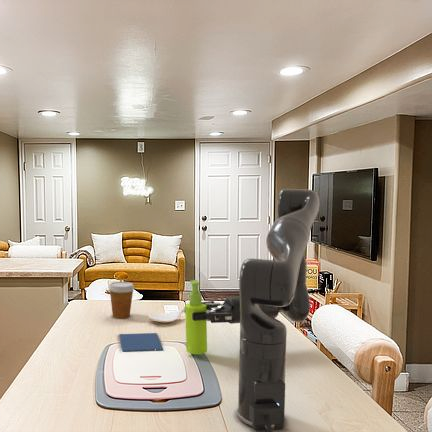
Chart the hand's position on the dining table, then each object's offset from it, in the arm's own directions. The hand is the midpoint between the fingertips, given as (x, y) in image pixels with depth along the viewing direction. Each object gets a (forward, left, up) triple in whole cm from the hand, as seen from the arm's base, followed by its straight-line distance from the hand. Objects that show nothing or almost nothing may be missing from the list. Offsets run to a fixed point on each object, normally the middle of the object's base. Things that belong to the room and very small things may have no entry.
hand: (188, 313), depth 123 cm
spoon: (+35, -8, -12) cm, 38 cm away
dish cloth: (+11, +12, -12) cm, 21 cm away
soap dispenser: (0, -3, -11) cm, 11 cm away
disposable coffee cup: (+39, +16, -12) cm, 44 cm away
